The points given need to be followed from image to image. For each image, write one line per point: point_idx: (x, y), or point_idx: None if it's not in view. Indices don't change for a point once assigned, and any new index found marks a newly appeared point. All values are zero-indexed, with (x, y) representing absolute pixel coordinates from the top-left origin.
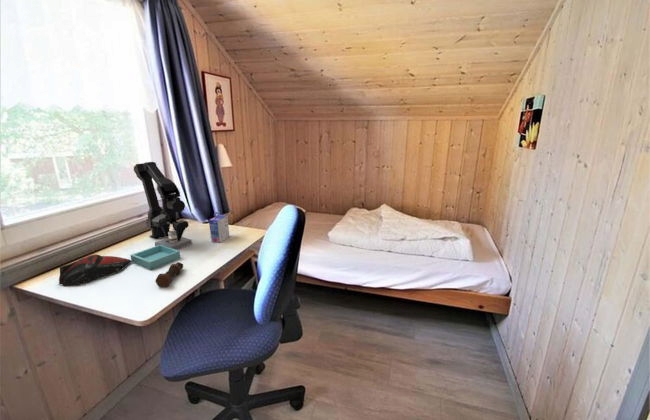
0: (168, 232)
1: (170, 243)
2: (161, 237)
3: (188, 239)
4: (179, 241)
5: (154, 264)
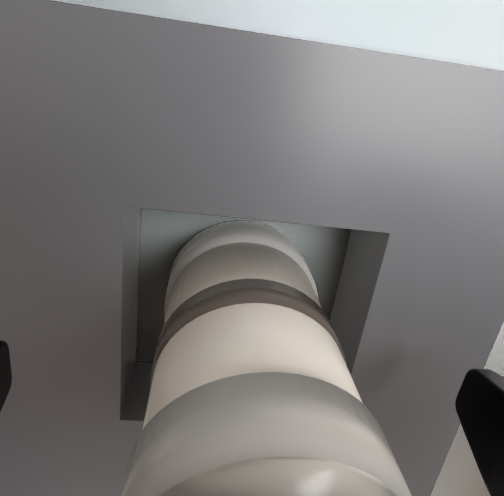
0: (359, 475)
1: (174, 206)
2: None
3: (49, 493)
4: (104, 368)
5: None
